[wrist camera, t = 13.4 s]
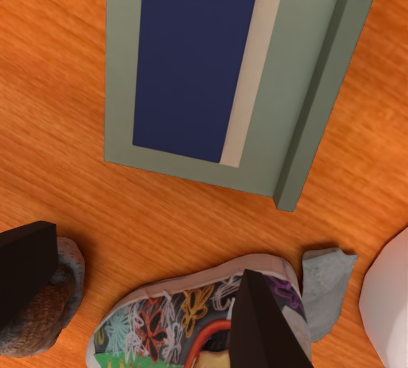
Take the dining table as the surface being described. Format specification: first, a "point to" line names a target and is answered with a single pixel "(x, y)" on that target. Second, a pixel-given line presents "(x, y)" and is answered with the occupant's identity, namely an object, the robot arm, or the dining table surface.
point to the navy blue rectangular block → (189, 74)
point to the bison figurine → (47, 307)
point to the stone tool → (324, 288)
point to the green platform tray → (248, 96)
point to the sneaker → (190, 318)
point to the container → (388, 303)
